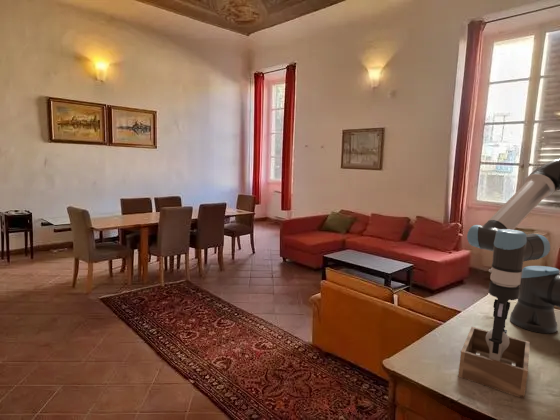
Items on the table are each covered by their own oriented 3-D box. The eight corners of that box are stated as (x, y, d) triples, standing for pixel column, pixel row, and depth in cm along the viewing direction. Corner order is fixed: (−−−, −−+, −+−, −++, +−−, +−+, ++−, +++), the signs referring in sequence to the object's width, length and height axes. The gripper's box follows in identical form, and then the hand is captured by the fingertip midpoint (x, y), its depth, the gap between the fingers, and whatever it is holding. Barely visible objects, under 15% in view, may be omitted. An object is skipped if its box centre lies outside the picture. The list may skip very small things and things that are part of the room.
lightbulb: (477, 361, 111) (482, 326, 110) (492, 357, 113) (496, 324, 112) (496, 372, 106) (500, 336, 104) (511, 368, 108) (515, 333, 106)
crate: (469, 348, 122) (471, 326, 121) (526, 365, 113) (529, 341, 112) (458, 376, 106) (461, 351, 105) (524, 398, 97) (527, 371, 96)
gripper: (493, 272, 116) (484, 341, 119) (485, 288, 100) (476, 367, 104) (521, 277, 111) (512, 348, 115) (518, 295, 96) (507, 376, 99)
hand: (495, 357), depth 109 cm, fingers closed on lightbulb, 6 cm apart
